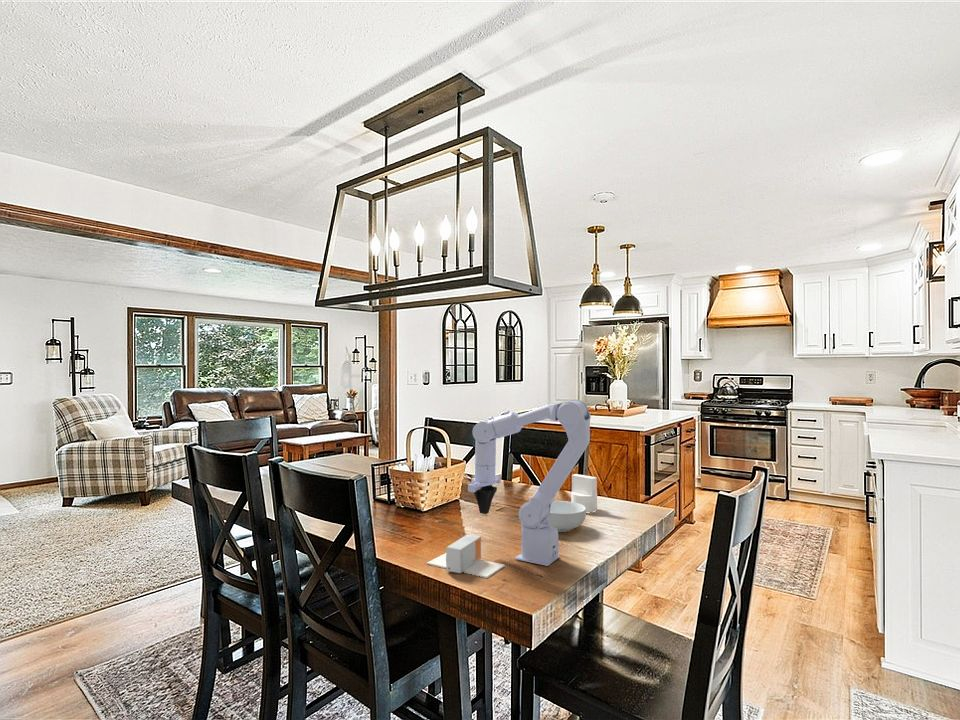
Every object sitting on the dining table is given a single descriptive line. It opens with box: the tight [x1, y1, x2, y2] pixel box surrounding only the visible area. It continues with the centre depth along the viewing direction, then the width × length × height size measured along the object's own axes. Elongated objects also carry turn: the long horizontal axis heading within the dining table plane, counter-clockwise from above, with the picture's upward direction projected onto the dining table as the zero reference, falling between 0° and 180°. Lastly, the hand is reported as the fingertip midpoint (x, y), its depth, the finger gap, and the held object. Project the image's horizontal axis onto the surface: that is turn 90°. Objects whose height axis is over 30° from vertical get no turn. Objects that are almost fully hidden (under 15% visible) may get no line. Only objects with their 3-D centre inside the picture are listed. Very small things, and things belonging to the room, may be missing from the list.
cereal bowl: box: [547, 500, 587, 533], centre depth 172 cm, size 17×17×7 cm
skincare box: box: [445, 533, 482, 574], centre depth 139 cm, size 6×4×12 cm
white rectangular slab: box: [426, 552, 506, 579], centre depth 140 cm, size 18×9×1 cm, turn 59°
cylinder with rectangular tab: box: [570, 473, 598, 512], centre depth 193 cm, size 9×9×12 cm
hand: (484, 513), depth 151 cm, fingers closed
